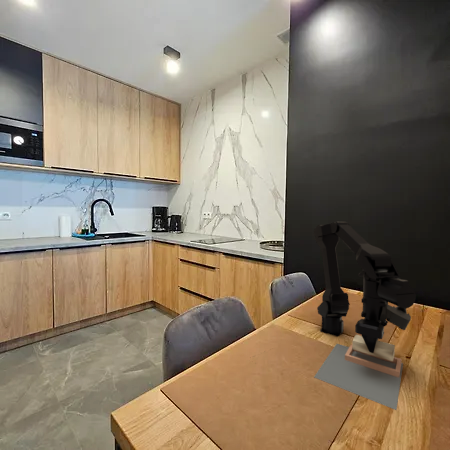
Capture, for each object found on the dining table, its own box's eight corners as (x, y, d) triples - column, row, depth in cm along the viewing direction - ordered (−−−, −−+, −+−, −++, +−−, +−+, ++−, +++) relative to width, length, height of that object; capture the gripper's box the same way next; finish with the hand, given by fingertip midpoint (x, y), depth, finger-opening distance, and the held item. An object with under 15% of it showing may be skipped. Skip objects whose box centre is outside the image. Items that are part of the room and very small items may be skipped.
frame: (344, 359, 75) (344, 355, 75) (350, 348, 81) (351, 344, 81) (399, 377, 67) (399, 372, 66) (401, 363, 73) (401, 359, 73)
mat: (313, 378, 67) (313, 377, 67) (336, 344, 84) (336, 343, 84) (396, 411, 56) (396, 409, 56) (403, 364, 73) (403, 363, 73)
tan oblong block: (394, 353, 72) (394, 345, 72) (392, 361, 69) (393, 352, 69) (355, 342, 78) (355, 334, 78) (352, 349, 75) (352, 340, 75)
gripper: (407, 312, 61) (404, 376, 61) (410, 293, 75) (408, 344, 76) (355, 302, 67) (354, 359, 68) (368, 286, 82) (366, 333, 83)
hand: (372, 348), depth 74 cm, fingers closed on tan oblong block, 5 cm apart
